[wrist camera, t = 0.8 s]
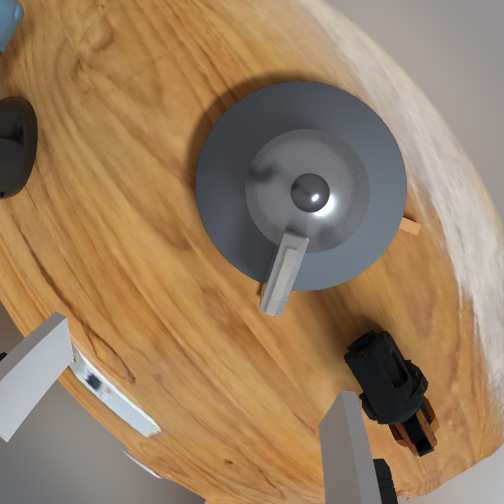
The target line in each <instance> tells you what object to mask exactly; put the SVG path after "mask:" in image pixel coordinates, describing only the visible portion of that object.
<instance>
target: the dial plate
mask: <svg viewBox="0 0 504 504" xmlns="http://www.w3.org/2000/svg"><path fill="white" fill-rule="evenodd" d="M299 129H315V130H321V131H325V132H328V133H331V134H333V135H335V136H337V137H339V138H340V139H342V140H344V141H345V142H346V143H347V144H349V145H350V146H351V147H352V148H353V149H354V150H355V152H356V153H357V154H358V156H359V157H360V158H361V160H362V162H363V164H364V166H365V168H366V171H367V174H368V178H369V183H370V200H369V206H368V209H367V213H366V215H365V218H364V220H363V221H362V223H361V225H360V227H359V228H358V229H357V230H356V232H355V233H354V234H353V235H352V236H351V237H350V238H349V239H348V240H346V241H345V242H344V243H342V244H340V245H339V246H337V247H335V248H333V249H330V250H327V251H324V252H319V253H304V256H303V259H302V262H301V265H300V267H299V270H298V273H297V276H296V278H295V281H294V284H293V286H292V289H291V291H314V290H321V289H326V288H330V287H333V286H336V285H339V284H342V283H344V282H347V281H349V280H351V279H353V278H355V277H356V276H358V275H359V274H361V273H362V272H364V271H365V270H367V269H368V268H369V267H370V266H371V265H373V264H374V263H375V262H376V261H377V260H378V259H379V258H380V256H381V255H382V254H383V253H384V252H385V250H386V249H387V248H388V246H389V245H390V244H391V242H392V240H393V238H394V236H395V235H396V233H397V231H398V228H400V229H402V230H405V231H407V232H410V233H412V234H414V235H418V233H419V230H420V227H421V225H420V224H418V223H416V222H414V221H412V220H409V219H407V218H404V217H403V213H404V209H405V204H406V195H407V178H406V171H405V165H404V162H403V158H402V155H401V151H400V149H399V147H398V144H397V142H396V140H395V138H394V136H393V135H392V133H391V131H390V130H389V128H388V127H387V125H386V124H385V123H384V122H383V120H382V119H381V118H380V117H379V116H378V115H377V114H376V113H375V112H374V111H373V110H372V109H371V108H370V107H369V106H368V105H367V104H365V103H364V102H362V101H361V100H360V99H358V98H357V97H355V96H353V95H351V94H350V93H348V92H346V91H344V90H341V89H339V88H336V87H333V86H331V85H326V84H322V83H318V82H309V81H290V82H283V83H277V84H273V85H269V86H266V87H263V88H261V89H258V90H256V91H254V92H252V93H250V94H248V95H246V96H245V97H243V98H242V99H240V100H239V101H237V102H236V103H235V104H233V105H232V106H231V107H230V108H229V109H228V110H227V111H226V112H225V113H224V114H223V115H222V116H221V117H220V118H219V120H218V121H217V122H216V123H215V125H214V126H213V128H212V129H211V131H210V133H209V134H208V136H207V138H206V140H205V143H204V145H203V147H202V150H201V153H200V156H199V160H198V164H197V171H196V198H197V205H198V209H199V213H200V217H201V220H202V222H203V225H204V227H205V229H206V232H207V233H208V235H209V237H210V239H211V240H212V242H213V244H214V245H215V246H216V248H217V249H218V250H219V252H220V253H221V254H222V255H223V256H224V257H225V258H226V259H227V260H228V261H229V262H230V263H231V264H232V265H233V266H234V267H236V268H237V269H238V270H239V271H241V272H242V273H244V274H245V275H247V276H249V277H250V278H252V279H254V280H256V281H259V282H261V283H263V284H264V281H265V278H266V275H267V272H268V269H269V266H270V263H271V260H272V256H273V253H274V250H275V247H276V244H275V243H273V242H272V241H270V240H269V239H268V238H267V237H266V236H264V235H263V234H262V232H261V231H260V230H259V229H258V228H257V226H256V224H255V223H254V221H253V219H252V217H251V215H250V213H249V210H248V207H247V202H246V193H245V187H246V179H247V174H248V171H249V168H250V166H251V164H252V162H253V160H254V158H255V157H256V155H257V154H258V152H259V151H260V150H261V149H262V148H263V147H264V146H265V145H266V144H267V143H268V142H270V141H271V140H272V139H274V138H276V137H277V136H279V135H281V134H284V133H286V132H289V131H293V130H299Z"/></svg>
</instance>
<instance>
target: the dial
mask: <svg viewBox="0 0 504 504" xmlns="http://www.w3.org/2000/svg"><path fill="white" fill-rule="evenodd" d="M245 193H246V202H247V207H248V210H249V213H250V215H251V217H252V219H253V221H254V223H255V224H256V226H257V228H258V229H259V230H260V231H261V232H262V234H263V235H264V236H266V237H267V238H268V239H269V240H270V241H272V242H273V243H275V244H276V247H275V250H274V253H273V256H272V260H271V263H270V266H269V269H268V272H267V275H266V278H265V281H264V284H263V287H262V290H261V297H260V304H259V310H260V311H264V312H265V314H268V315H272V316H275V315H278V316H281V315H282V313H283V310H284V307H285V305H286V302H287V300H288V297H289V294H290V292H291V289H292V286H293V284H294V281H295V278H296V276H297V273H298V270H299V267H300V265H301V262H302V259H303V256H304V253H319V252H324V251H327V250H330V249H333V248H335V247H337V246H339V245H340V244H342V243H344V242H345V241H346V240H348V239H349V238H350V237H351V236H352V235H353V234H354V233H355V232H356V230H357V229H358V228H359V227H360V225H361V223H362V221H363V220H364V218H365V215H366V213H367V209H368V206H369V200H370V183H369V178H368V174H367V171H366V168H365V166H364V164H363V162H362V160H361V158H360V157H359V156H358V154H357V153H356V152H355V150H354V149H353V148H352V147H351V146H350V145H349V144H347V143H346V142H345V141H344V140H342V139H340V138H339V137H337V136H335V135H333V134H331V133H328V132H325V131H321V130H315V129H299V130H293V131H289V132H286V133H284V134H281V135H279V136H277V137H276V138H274V139H272V140H271V141H270V142H268V143H267V144H266V145H265V146H264V147H263V148H262V149H261V150H260V151H259V152H258V154H257V155H256V157H255V158H254V160H253V162H252V164H251V166H250V168H249V171H248V174H247V179H246V187H245Z"/></svg>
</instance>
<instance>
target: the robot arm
mask: <svg viewBox="0 0 504 504" xmlns="http://www.w3.org/2000/svg"><path fill="white" fill-rule="evenodd" d="M23 15H24V10H23V6H22V5H21V4H20V3H19V2H18V1H17V0H0V57H1V55H2V53H3V52H5V51H6V50H7V47H8V43H9V42H10V40H11V38H12V36H13V35H14V33H15V31H16V30H17V28H18V26H19V25H20V23H21V21H22V19H23ZM36 148H37V123H36V117H35V113H34V111H33V108H32V106H31V105H30V103H29V102H28V101H27V100H25V99H23V98H16V97H7V98H4V99H1V100H0V199H5V198H8V197H12V196H15V195H16V194H18V193H19V192H20V191H21V190H22V188H23V187H24V186H25V184H26V182H27V180H28V178H29V176H30V173H31V171H32V167H33V164H34V160H35V155H36ZM73 359H74V356H73V351H72V346H71V340H70V335H69V329H68V322H67V317H66V316H63V315H61V314H59V313H57V312H55V313H54V314H53V315H51V316H50V317H49V318H48V319H47V320H46V321H44V322H43V323H42V324H41V325H40V326H39V327H37V328H36V329H35V330H34V331H33V332H32V333H31V334H30V335H28V336H27V337H26V338H25V339H24V340H23V341H22V342H21V343H20V344H18V346H16V347H15V348H14V349H13V350H12V351H11V352H10V353H9V354H6V353H5V352H3V353H1V354H0V437H1V438H3V439H4V440H5V441H6V442H8V441H9V439H10V438H11V436H12V435H13V434H14V432H15V431H16V430H17V428H18V427H19V426H20V424H21V423H22V422H23V420H24V419H25V418H26V416H27V415H28V414H29V413H30V411H31V410H32V409H33V407H34V406H35V405H36V404H37V402H38V401H39V400H40V399H41V397H42V396H43V395H44V394H45V392H46V391H47V390H48V388H49V387H50V386H51V385H52V384H53V382H54V381H55V380H56V379H57V378H58V377H59V375H60V374H61V373H62V372H63V371H64V370H65V368H66V367H67V366H68V365H69V364H70V362H71V361H72V360H73ZM319 432H320V442H321V452H322V463H323V474H324V487H325V501H326V504H398V501H397V497H396V492H395V488H394V483H393V480H392V475H391V471H390V467H389V466H388V465H387V463H386V462H385V460H384V459H372V454H371V450H370V445H369V441H368V437H367V433H366V429H365V425H364V421H363V417H362V413H361V409H360V405H359V402H358V398H357V394H356V392H352V391H342V390H341V391H340V393H339V394H338V396H337V398H336V399H335V401H334V403H333V404H332V406H331V407H330V409H329V411H328V412H327V414H326V415H325V417H324V418H323V420H322V421H321V423H320V424H319Z"/></svg>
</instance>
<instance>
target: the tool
mask: <svg viewBox="0 0 504 504" xmlns="http://www.w3.org/2000/svg"><path fill="white" fill-rule="evenodd" d="M347 349H348V350H350V351H349V352H348V353H346V354H345V355H344V358H345V361H346V362H345V363H347V364H348V366H349V368H350V369H351V371H352V373H353V374H354V376H355V378H356V379H357V381H358V383H359V384H360V386H361V388H362V390H363V391H364V392H363V393H362V394H360V395H359V398H360V399H361V400H362V408H363V410H364V411H365V413H366V414H367V416H368V417H369V419H371V420H374V421H376V420H377V422H378V424H388V425H389V427H390V430H391V432H392V435H393V437H394V439H395V440H396V442H397V443H398V444H400V445H401V446H403V447H409V449H410V451H411V452H412V453H413V454H414V455H415V456H420V457H421V456H423V455H426V454H428V453H430V452H432V451H434V447H435V446H436V445H437V440H436V438H435V435H434V433H435V432H436V430H437V429H438V427H439V422H438V420H437V417H436V415H435V413H434V411H433V409H432V407H431V405H430V403H429V401H428V399H427V398H426V397H425V396H424V395H423V394H424V393H425V391H426V390H427V387H428V381H427V380H426V378H425V377H424V375H423V373H422V372H421V370H420V369H419V367H417V366H416V365H414V364H413V363H411V360H405V359H404V358H403V356H402V354H401V352H400V350H399V349H398V347H397V345H396V343H395V342H394V340H393V338H392V336H391V335H390V334H389V333H388V332H387V331H385V332H384V331H381V332H379V333H378V334H376V333H375V332H374V330H372V331H370V332H368V333H366V334H364V335H363V336H362V337H360V338H359V339H357V340H356V341H355V342H353V343H352V344H351V345H350V346H349V347H348V348H347Z"/></svg>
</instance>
